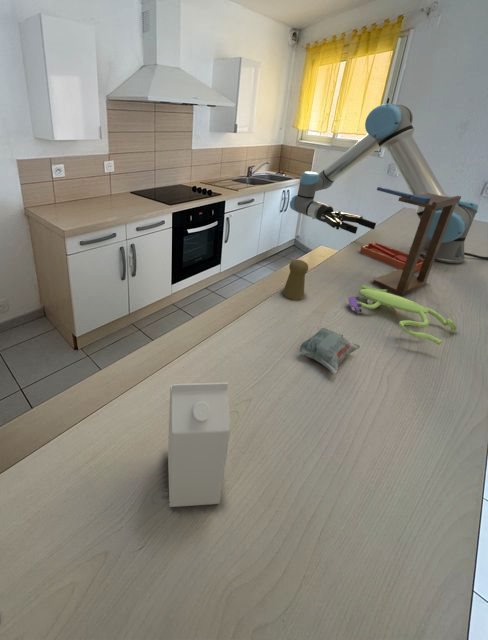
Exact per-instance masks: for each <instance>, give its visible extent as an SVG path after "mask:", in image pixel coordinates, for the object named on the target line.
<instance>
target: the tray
mask: <svg viewBox="0 0 488 640" xmlns="http://www.w3.org/2000/svg"><path fill="white" fill-rule="evenodd" d="M373 243H374V244H376V245H378V246H380V247H382V248H384V249H386V250H388V251H389V252H391V253H393V254H395V255H396V256H397V255H401V256H405V257H408V255H409V253H406V252H404V251H401V250H398V249H395V248H392V247H389V246H387V245H385V244H382V243H379V242H373ZM359 254H362V255H365V256H366V257H369V258H371V259H374V260H377V261H378V262H382V263H383V264H384V263H385V264H386V265H389V266H392V267H393V268H397V269H401V270H403V269H404V266H405V263H403V262H401V261H398V260H396V259H395V258H396V256H395V257H393V258H392V257H390V256H388V255H386V254H385V253H383V252H381V251H379V250H377V249H375V248H373V247H371V246H369V244H366V245H363V246H361V247H360V250H359ZM423 261H424V258H420V257H419V259H418V262H417V264H416V267H415V270H414V273H415V272H417V271H420V269H421V266H422V264H423Z"/></svg>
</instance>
